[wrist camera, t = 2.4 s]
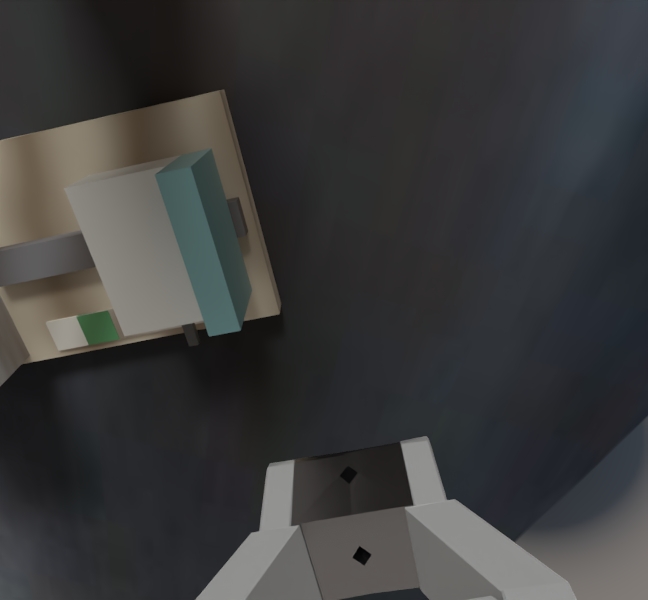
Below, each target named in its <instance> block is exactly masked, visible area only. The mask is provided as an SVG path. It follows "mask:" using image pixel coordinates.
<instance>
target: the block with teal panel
mask: <svg viewBox="0 0 648 600" xmlns="http://www.w3.org/2000/svg"><path fill="white" fill-rule="evenodd" d="M64 190H65V192H66V195H67V197H68V199H69V202H70V204H71V207H72V209H73V212H74V214H75V217H76V219H77V221H78V224H79V226H80V229H81V231H82V234H83V236H84V239H85V241H86V244H87V246H88V248H89V251H90V253H91V256H92V258H93V261H94V263H95V266H96V268H97V270H98V273H99V275H100V278H101V280H102V283H103V285H104V288H105V290H106V293H107V295H108V297H109V300H110V302H111V305H112V307H113V310H114V312H115V315H116V317H117V319H118V322H119V324H120V327H121V329H122V332H123V334H124V336H129V335H134V334H139V333H144V332H149V331H155V330H160V329H165V328H170V327H175V326H180V325H182V328H183V331H184V334H185V337H186V339H187V342H188V345H189V347H190V346H195V345H199V343H200V341H201V340H200V337H199V334H198V332H197V329H196V326H195V323H196V322H201V321H204V323H205V326H206V329H207V332H208V335H209V337H210V336H215V335H220V334H226V333H231V332H236V331H241V328H242V325H243V321H244V317H245V314H246V310H247V307H248V303H249V299H250V296H251V292H252V288H251V284H250V281H249V277H248V274H247V270H246V267H245V263H244V260H243V256H242V253H241V249H240V246H239V242H238V239H237V235H236V232H235V228H234V225H233V221H232V218H231V214H230V211H229V207H228V204H227V200H226V197H225V193H224V190H223V187H222V183H221V180H220V176H219V173H218V169H217V166H216V162H215V159H214V155H213V152H212V148H210V149H206V150H201V151H197V152H192V153H188V154H183V155H179V156H174V157H170V158H165V159H160V160H156V161H151V162H147V163H142V164H138V165H133V166H129V167H124V168H120V169H115V170H110V171H106V172H101V173H97V174H92V175H88V176H86V177H84V178H83V179H81V180H79V181H77V182H75V183H73V184H71V185H69V186H67V187H66V188H64Z"/></svg>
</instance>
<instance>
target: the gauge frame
mask: <svg viewBox="0 0 648 600" xmlns="http://www.w3.org/2000/svg"><path fill="white" fill-rule="evenodd" d="M210 148H212V152H213V155H214V159H215V162H216V166H217V169H218V173H219V176H220V180H221V183H222V187H223V190H224V193H225V197H226V200H227V204H228V207H229V211H230V214H231V218H232V221H233V225H234V228H235V232H236V235H237V239H238V242H239V246H240V249H241V253H242V256H243V260H244V263H245V267H246V270H247V274H248V277H249V281H250V284H251V288H252V292H251V296H250V299H249V303H248V307H247V310H246V314H245V317H244V321H247V320H252V319H257V318H262V317H268V316H273V315H278V314H280V309H281V301H280V297H279V294H278V290H277V286H276V282H275V279H274V275H273V271H272V267H271V263H270V260H269V256H268V252H267V248H266V245H265V241H264V237H263V233H262V230H261V226H260V222H259V218H258V215H257V211H256V207H255V203H254V200H253V196H252V192H251V188H250V185H249V181H248V177H247V173H246V170H245V166H244V162H243V158H242V155H241V151H240V147H239V143H238V140H237V136H236V132H235V128H234V125H233V121H232V117H231V113H230V110H229V106H228V102H227V98H226V94H225V91H224V89H223V90H219V91H215V92H210V93H206V94H201V95H197V96H193V97H188V98H184V99H180V100H175V101H171V102H166V103H162V104H158V105H153V106H149V107H144V108H140V109H136V110H131V111H127V112H122V113H118V114H114V115H109V116H105V117H101V118H96V119H92V120H87V121H83V122H79V123H74V124H70V125H65V126H61V127H57V128H52V129H48V130H44V131H39V132H35V133H30V134H26V135H22V136H17V137H13V138H8V139H4V140H0V386H1V385H2V384H3V383H4V382H5V381H6V380H7V379H8V378H9V377H10V376H11V375H12V374H13V373H14V372H15V371H16V369H17V368H18V367H19V366H20V365H21V364H26V363H31V362H36V361H41V360H46V359H51V358H57V357H62V356H67V355H72V354H77V353H82V352H87V351H93V350H98V349H103V348H108V347H113V346H118V345H124V344H129V343H134V342H139V341H144V340H149V339H154V338H160V337H165V336H170V335H175V334H180V333H184V331H183V328H182V325H180V326H175V327H170V328H165V329H160V330H155V331H149V332H144V333H139V334H134V335H129V336H124V334H123V332H122V329H121V327H120V324H119V322H118V319H117V317H116V315H115V312H114V310H113V307H112V305H111V302H110V300H109V297H108V295H107V293H106V290H105V288H104V285H103V283H102V280H101V278H100V275H99V273H98V270H97V268H96V266H95V263H94V261H93V258H92V256H91V253H90V251H89V248H88V246H87V244H86V241H85V239H84V236H83V234H82V231H81V229H80V226H79V224H78V221H77V219H76V217H75V214H74V212H73V209H72V207H71V204H70V202H69V199H68V197H67V195H66V192H65V190H64V188H66V187H67V186H69V185H71V184H73V183H75V182H77V181H79V180H81V179H83V178H84V177H86V176H88V175H92V174H97V173H101V172H106V171H110V170H115V169H120V168H124V167H129V166H133V165H138V164H142V163H147V162H151V161H156V160H160V159H165V158H170V157H174V156H179V155H183V154H188V153H192V152H197V151H201V150H206V149H210ZM195 326H196V329H197V330H201V329H206V326H205V323H204V321H201V322H196V323H195Z"/></svg>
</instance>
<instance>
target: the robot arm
mask: <svg viewBox="0 0 648 600" xmlns="http://www.w3.org/2000/svg"><path fill="white" fill-rule="evenodd" d="M419 587H420V589H421V591H422V592H423V593H424V594H425V595H426V596H427V598H428V599H429V600H577V599H576V597H575V595H574V592H573V590H572V588H571V586H570V584H569V582H568V581H566V580H565V579H563V578H562V577H561V576H559V575H558V574H557V573H555V572H554V571H553V570H551V569H550V568H549V567H547V566H546V565H544V564H543V563H542V562H540V561H539V560H537V559H536V558H535V557H534V556H532V555H531V554H529V553H528V552H527V551H525V550H524V549H522V548H521V547H520V546H518V545H517V544H516V543H514V542H513V541H512V540H510V539H509V538H508V537H506V536H505V535H503V534H502V533H501V532H499V531H498V530H497V529H495V528H494V527H493V526H491V525H490V524H488V523H487V522H486V521H484V520H483V519H482V518H480V517H479V516H478V515H476V514H475V513H473V512H472V511H471V510H469V509H468V508H467V507H465V506H464V505H463V504H461V503H460V502H458V501H457V500H456V499H454V500H447V499H446V495H445V492H444V488H443V485H442V482H441V478H440V475H439V472H438V468H437V465H436V461H435V458H434V455H433V451H432V448H431V445H430V441H429V439H428V438H427V437H426V436H424V437H419V438H414V439H409V440H404V441H400V442H398V443H392V444H387V445H381V446H375V447H370V448H364V449H359V450H353V451H346V452H340V453H333V454H326V455H320V456H313V457H306V458H300V459H296V460H289V461H283V462H276V463H270V464H269V466H268V468H267V472H266V480H265V488H264V496H263V504H262V512H261V521H260V529H259V532H254V533H251V534H250V535H249V536H248V537H247V539H246V540H245V541H244V542H243V543H242V545H241V546H240V547H239V548H238V549H237V551H236V552H235V553H234V554H233V555H232V557H231V558H230V559H229V560H228V561H227V563H226V564H225V565H224V566H223V567H222V569H221V570H220V571H219V572H218V573H217V574H216V576H215V577H214V578H213V579H212V580H211V582H210V583H209V584H208V585H207V586H206V588H205V589H204V590H203V591H202V592H201V594H200V595H199V596H198V597H197V598H196V600H338V599H344V598H349V597H354V596H360V595H365V594H371V593H379V592H387V591H395V590H403V589H411V588H419Z"/></svg>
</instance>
